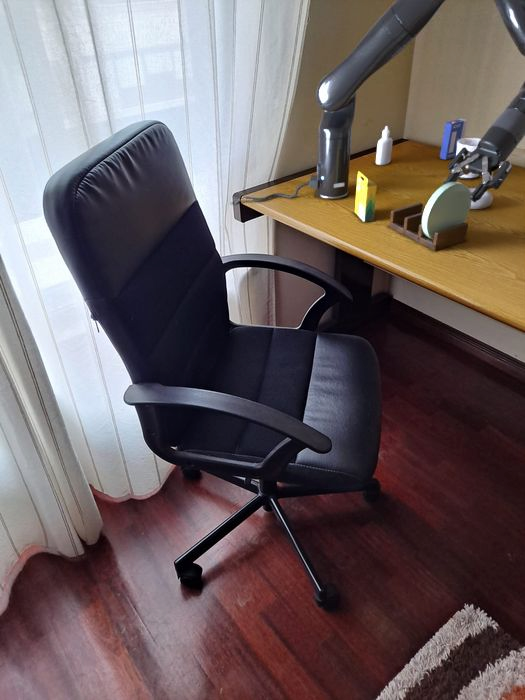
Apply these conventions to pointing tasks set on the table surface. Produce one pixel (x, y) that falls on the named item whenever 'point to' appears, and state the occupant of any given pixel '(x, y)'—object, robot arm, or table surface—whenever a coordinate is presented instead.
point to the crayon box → (365, 198)
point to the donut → (481, 200)
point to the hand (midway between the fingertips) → (458, 194)
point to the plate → (446, 208)
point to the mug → (470, 146)
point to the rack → (413, 223)
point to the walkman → (452, 137)
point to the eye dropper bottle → (384, 148)
